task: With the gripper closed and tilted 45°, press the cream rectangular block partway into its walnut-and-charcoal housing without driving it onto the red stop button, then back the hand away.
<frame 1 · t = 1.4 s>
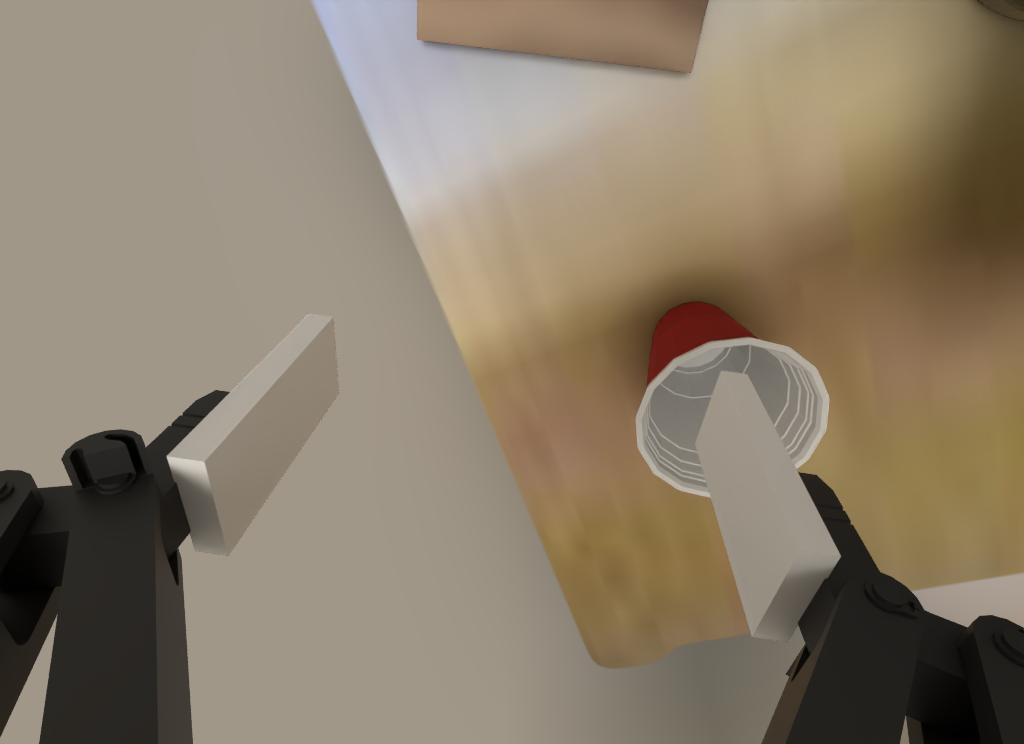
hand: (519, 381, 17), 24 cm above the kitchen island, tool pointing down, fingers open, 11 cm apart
plastic cup: (692, 332, 42), on the kitchen island
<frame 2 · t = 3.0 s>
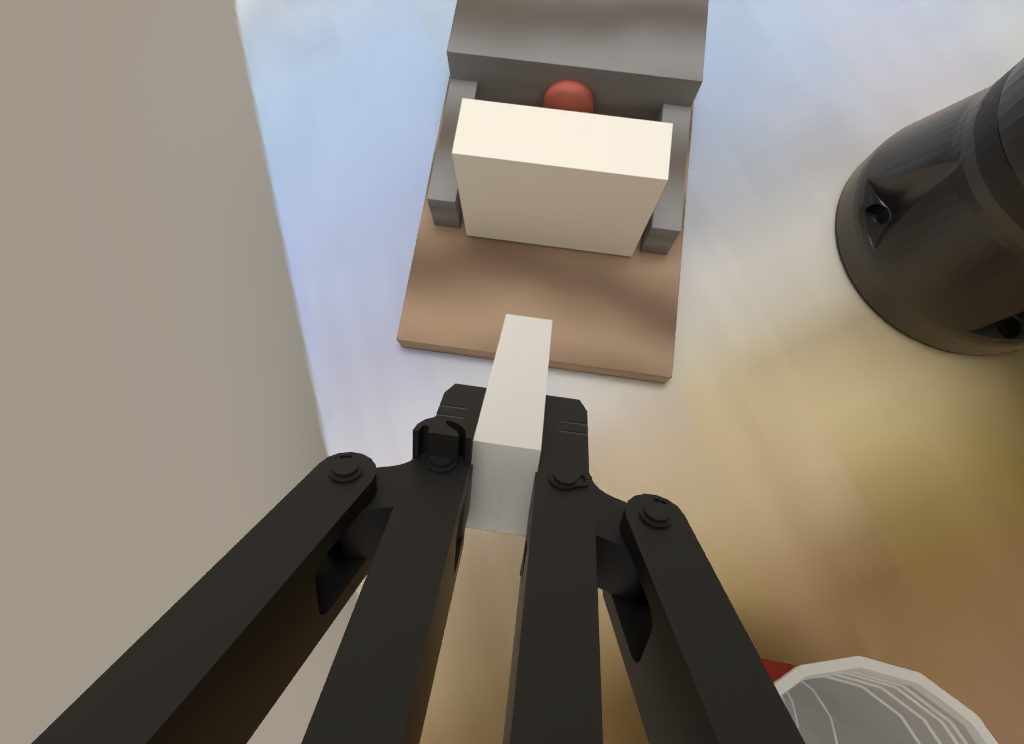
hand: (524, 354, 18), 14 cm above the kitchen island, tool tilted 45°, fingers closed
plastic cup: (735, 708, 29), on the kitchen island
cream rectangular block: (556, 186, 29), point 6 cm above the kitchen island, slide at 0.0 cm
key housing: (554, 201, 35), on the kitchen island
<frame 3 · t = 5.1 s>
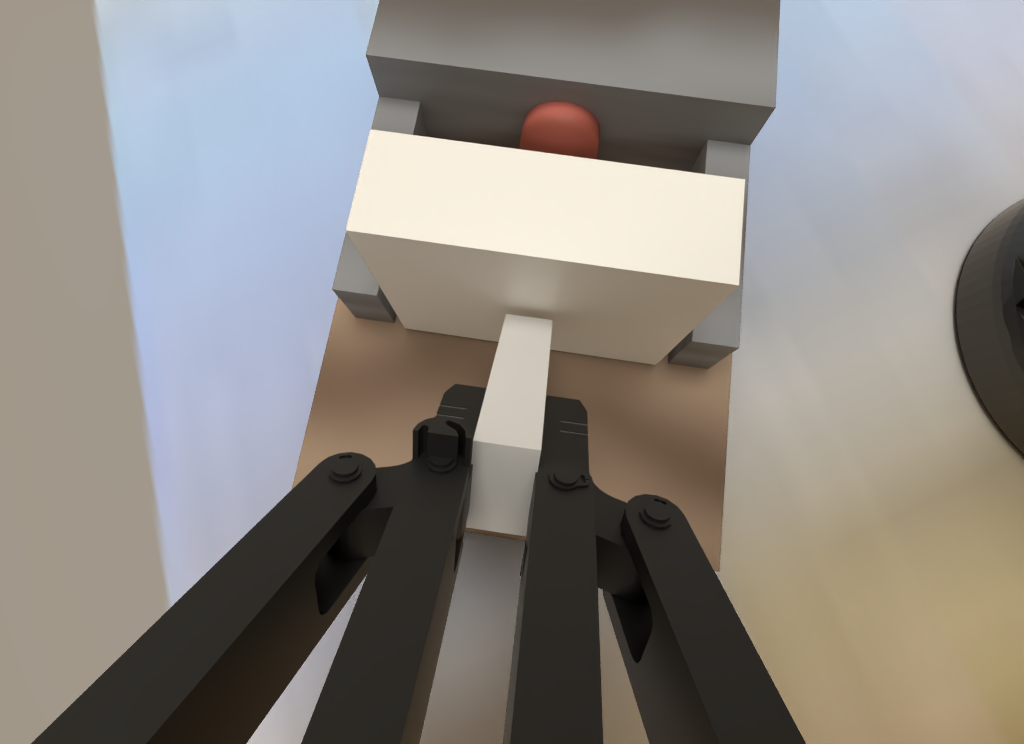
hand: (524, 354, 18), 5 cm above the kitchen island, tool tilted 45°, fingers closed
cream rectangular block: (539, 269, 18), point 6 cm above the kitchen island, slide at 0.3 cm, touching gripper
key housing: (540, 277, 24), on the kitchen island
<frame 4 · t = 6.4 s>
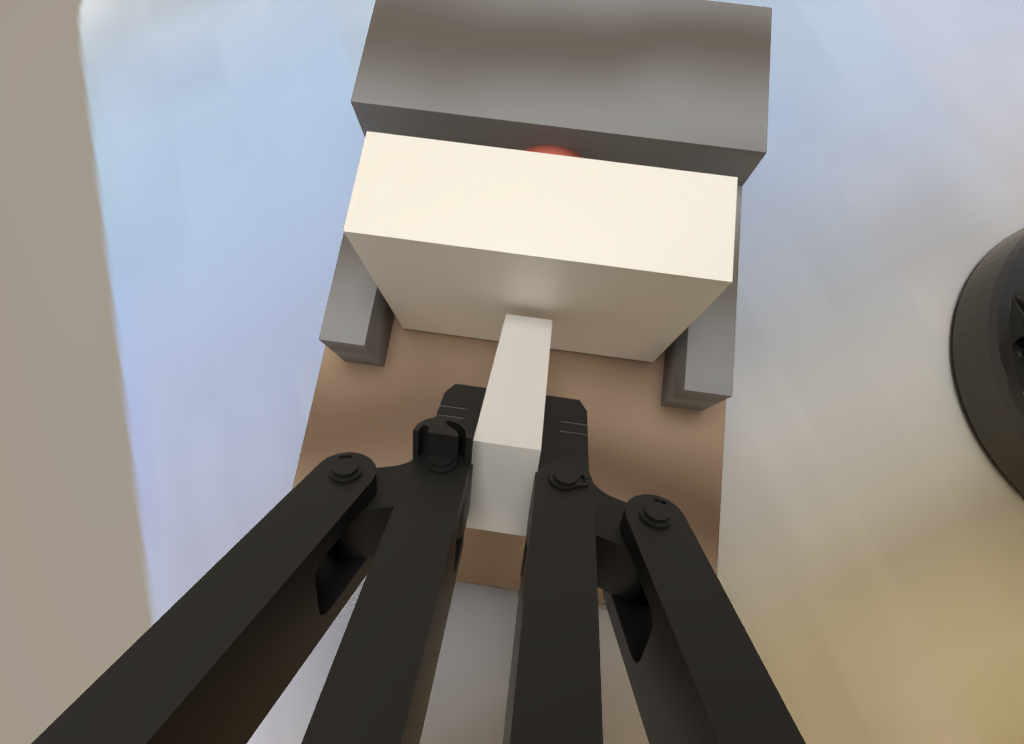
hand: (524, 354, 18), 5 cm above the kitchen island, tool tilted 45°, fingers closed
cream rectangular block: (536, 268, 18), point 6 cm above the kitchen island, slide at 2.1 cm
key housing: (531, 315, 24), on the kitchen island
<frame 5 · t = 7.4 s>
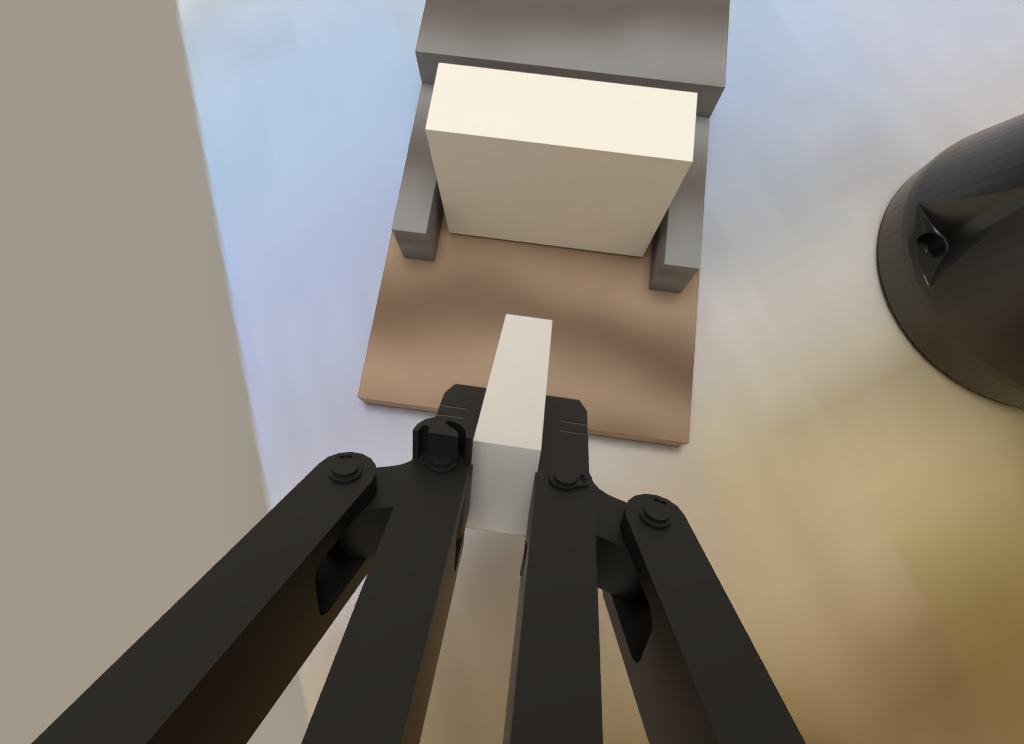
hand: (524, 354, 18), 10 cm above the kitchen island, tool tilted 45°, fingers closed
cream rectangular block: (554, 173, 24), point 6 cm above the kitchen island, slide at 2.1 cm
key housing: (547, 228, 30), on the kitchen island
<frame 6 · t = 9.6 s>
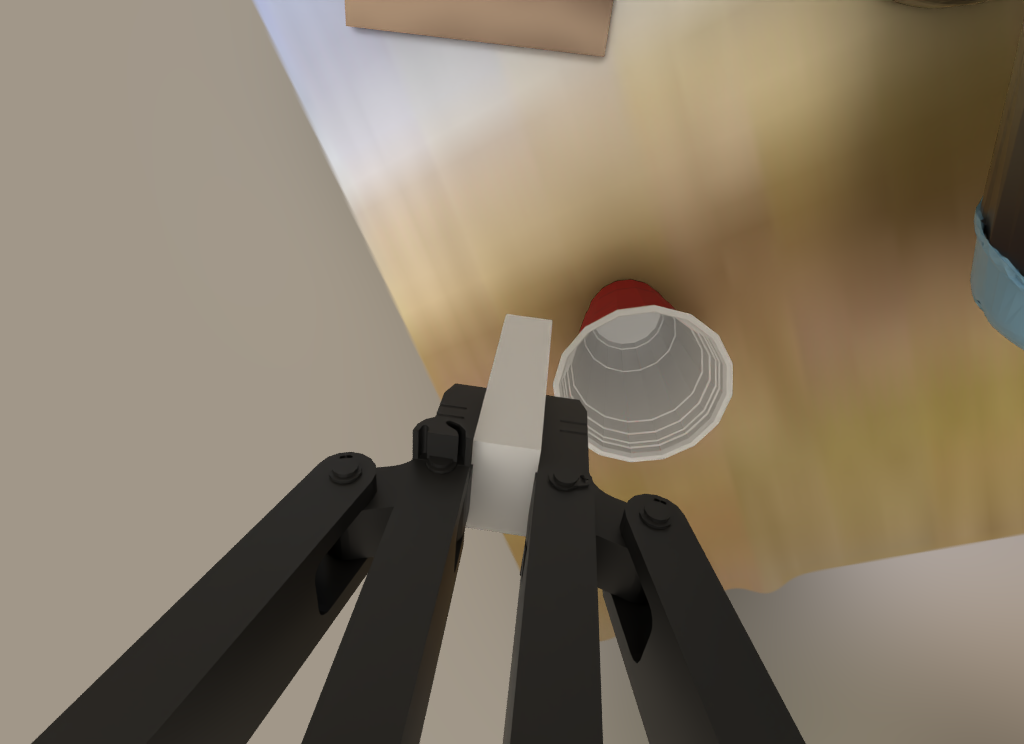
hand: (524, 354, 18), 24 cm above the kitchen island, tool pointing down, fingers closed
plastic cup: (626, 309, 43), on the kitchen island
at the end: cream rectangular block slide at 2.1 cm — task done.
